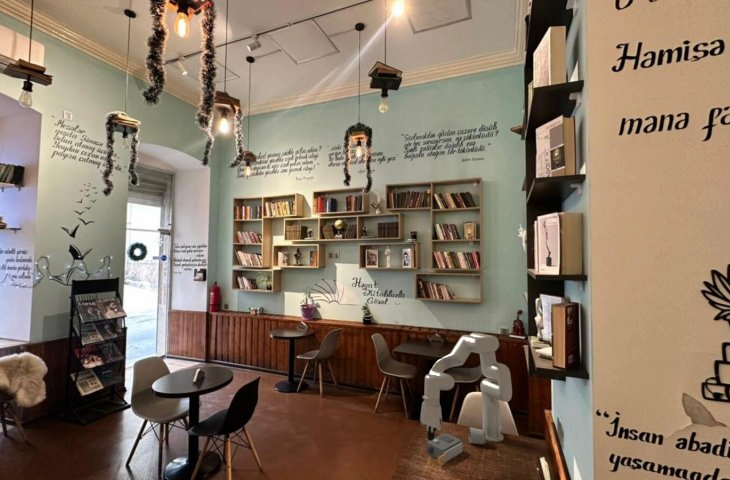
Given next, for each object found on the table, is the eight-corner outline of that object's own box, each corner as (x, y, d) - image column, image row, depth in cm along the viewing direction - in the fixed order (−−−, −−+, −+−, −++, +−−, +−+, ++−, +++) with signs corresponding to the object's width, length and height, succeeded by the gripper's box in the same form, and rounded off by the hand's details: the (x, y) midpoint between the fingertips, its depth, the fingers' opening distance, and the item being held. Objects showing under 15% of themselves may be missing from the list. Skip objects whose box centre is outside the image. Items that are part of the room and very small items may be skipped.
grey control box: (445, 443, 179) (445, 431, 180) (461, 451, 172) (461, 438, 172) (425, 453, 168) (425, 440, 169) (442, 462, 161) (442, 448, 162)
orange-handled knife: (461, 450, 172) (461, 441, 172) (463, 451, 171) (463, 442, 171) (437, 464, 158) (437, 454, 159) (439, 465, 158) (439, 455, 158)
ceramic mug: (486, 447, 177) (486, 432, 178) (470, 445, 178) (470, 430, 179) (482, 438, 187) (482, 423, 188) (467, 436, 188) (467, 422, 189)
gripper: (415, 398, 168) (414, 436, 166) (440, 407, 158) (440, 447, 156) (423, 395, 174) (422, 431, 171) (448, 403, 163) (448, 442, 161)
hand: (431, 439), depth 164 cm, fingers closed
